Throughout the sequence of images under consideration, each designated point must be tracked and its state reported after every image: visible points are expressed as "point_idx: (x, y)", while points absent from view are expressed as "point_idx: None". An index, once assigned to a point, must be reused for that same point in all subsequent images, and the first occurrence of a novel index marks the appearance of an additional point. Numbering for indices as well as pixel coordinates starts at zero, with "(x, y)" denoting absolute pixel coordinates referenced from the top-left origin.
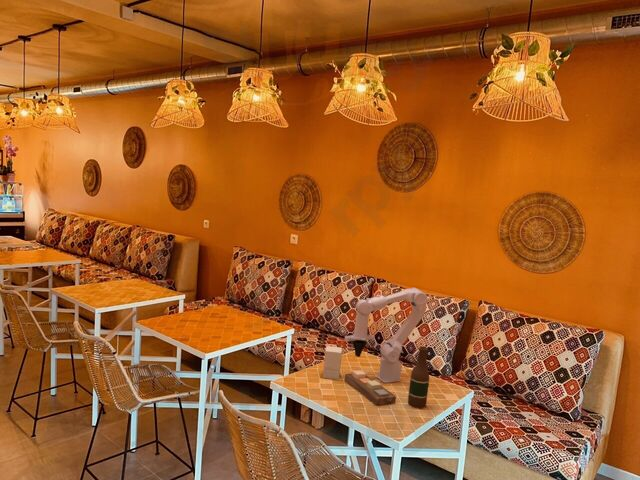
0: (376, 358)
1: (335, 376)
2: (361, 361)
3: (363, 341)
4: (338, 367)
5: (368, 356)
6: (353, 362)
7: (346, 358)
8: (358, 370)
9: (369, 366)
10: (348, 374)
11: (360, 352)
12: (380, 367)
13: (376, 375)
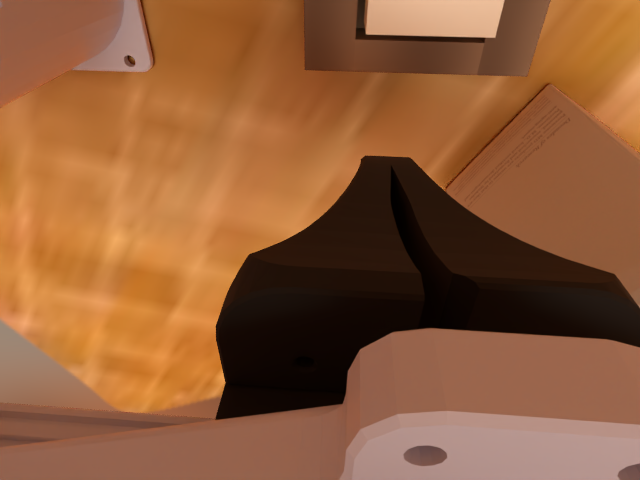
0: (35, 333)
1: (586, 111)
2: (155, 321)
3: (308, 382)
4: (619, 141)
5: (82, 361)
6: (217, 320)
7: None
8: (405, 26)
9: (126, 251)
10: (503, 53)
11: (379, 181)
12: (62, 18)
13: (133, 66)
